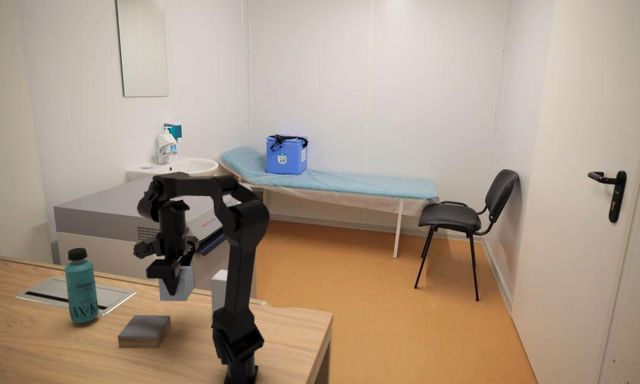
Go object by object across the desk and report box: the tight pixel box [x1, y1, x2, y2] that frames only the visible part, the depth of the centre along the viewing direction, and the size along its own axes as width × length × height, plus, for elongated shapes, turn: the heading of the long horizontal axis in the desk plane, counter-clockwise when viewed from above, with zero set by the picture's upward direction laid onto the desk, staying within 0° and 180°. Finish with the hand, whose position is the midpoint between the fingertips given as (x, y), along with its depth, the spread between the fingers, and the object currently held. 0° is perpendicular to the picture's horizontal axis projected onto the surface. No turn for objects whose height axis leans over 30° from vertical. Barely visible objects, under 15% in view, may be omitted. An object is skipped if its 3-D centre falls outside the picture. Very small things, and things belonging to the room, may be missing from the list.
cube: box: [158, 265, 195, 302], centre depth 94 cm, size 6×6×6 cm
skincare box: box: [210, 269, 228, 320], centre depth 106 cm, size 6×4×12 cm
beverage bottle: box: [64, 247, 100, 324], centre depth 101 cm, size 6×7×20 cm
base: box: [117, 314, 172, 349], centre depth 97 cm, size 9×9×3 cm
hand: (177, 288), depth 95 cm, fingers closed on cube, 6 cm apart
